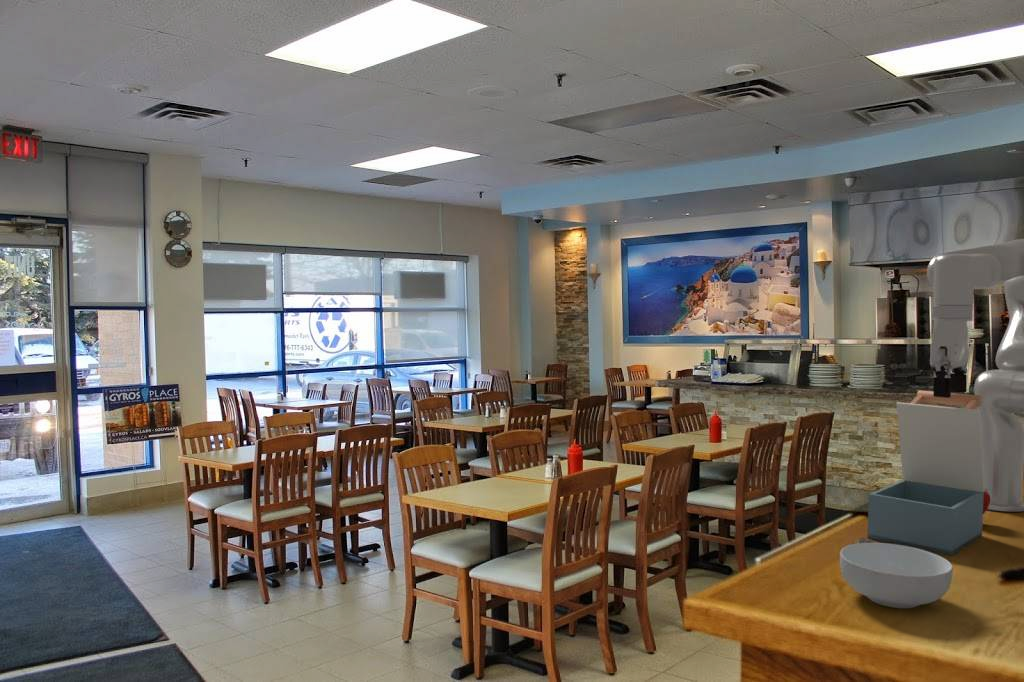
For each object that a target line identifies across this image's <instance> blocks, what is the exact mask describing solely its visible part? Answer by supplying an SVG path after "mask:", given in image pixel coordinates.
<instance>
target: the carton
mask: <svg viewBox="0 0 1024 682" xmlns="http://www.w3.org/2000/svg"><path fill="white" fill-rule="evenodd" d="M983 496H984V492H977V491H971V490H965V489H959V488H953V487H946V486H940V485H934V484H927V483H921V482H915V481H908V480H903V479H902V480H899V481H896V482H895V483H892V484H889V485H888V486H885V487H883V488H879V489H878V490H875V491H872V492H870V493H869V494H868V507H867V508H868V513H867V516H868V517H867V539H872V540H874V541H875V540H876V541H880V542H881V541H882V542H885V543H889V544H896V545H902V546H908V547H912V548H917V549H921V550H924V551H927V552H932V553H936V554H937V553H938V554H942V555H946V556H947V555H948V556H953V555H955V554H957V553H959V551H962V550H963V549H964V548H966V547H967V546H970V545H971V544H972V543H974V542H975V541H977V540H978V539H980V538H981V537H982V536H983V521H984V519H983V518H984V514H983Z"/></svg>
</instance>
